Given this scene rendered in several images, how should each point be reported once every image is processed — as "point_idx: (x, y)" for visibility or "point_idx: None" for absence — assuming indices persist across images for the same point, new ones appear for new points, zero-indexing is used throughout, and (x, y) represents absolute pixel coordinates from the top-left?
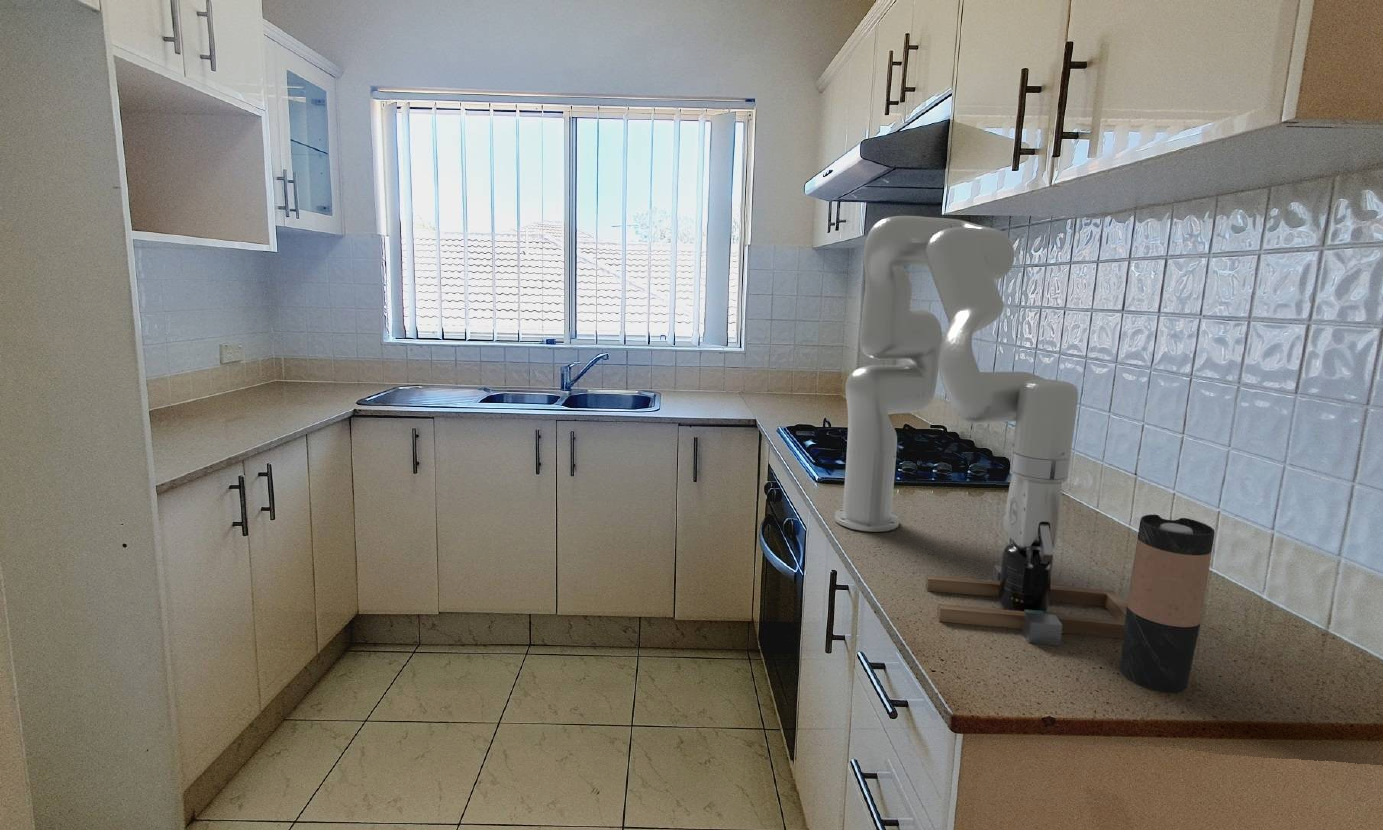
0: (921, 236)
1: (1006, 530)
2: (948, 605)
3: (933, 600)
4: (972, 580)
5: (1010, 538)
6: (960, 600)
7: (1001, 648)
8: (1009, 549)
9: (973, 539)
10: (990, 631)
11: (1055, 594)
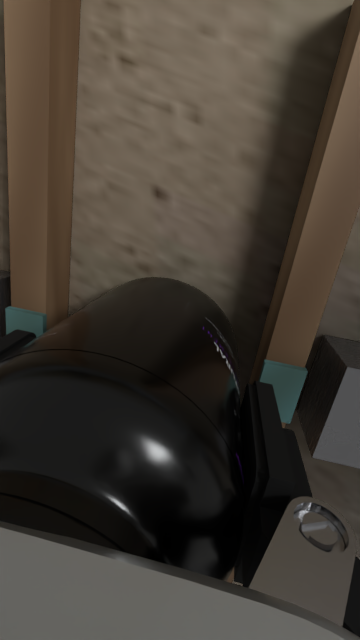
0: None
1: (185, 600)
2: None
3: (242, 6)
4: (327, 230)
5: (340, 552)
6: (240, 149)
7: None
8: (31, 409)
9: None
10: (3, 170)
11: None
